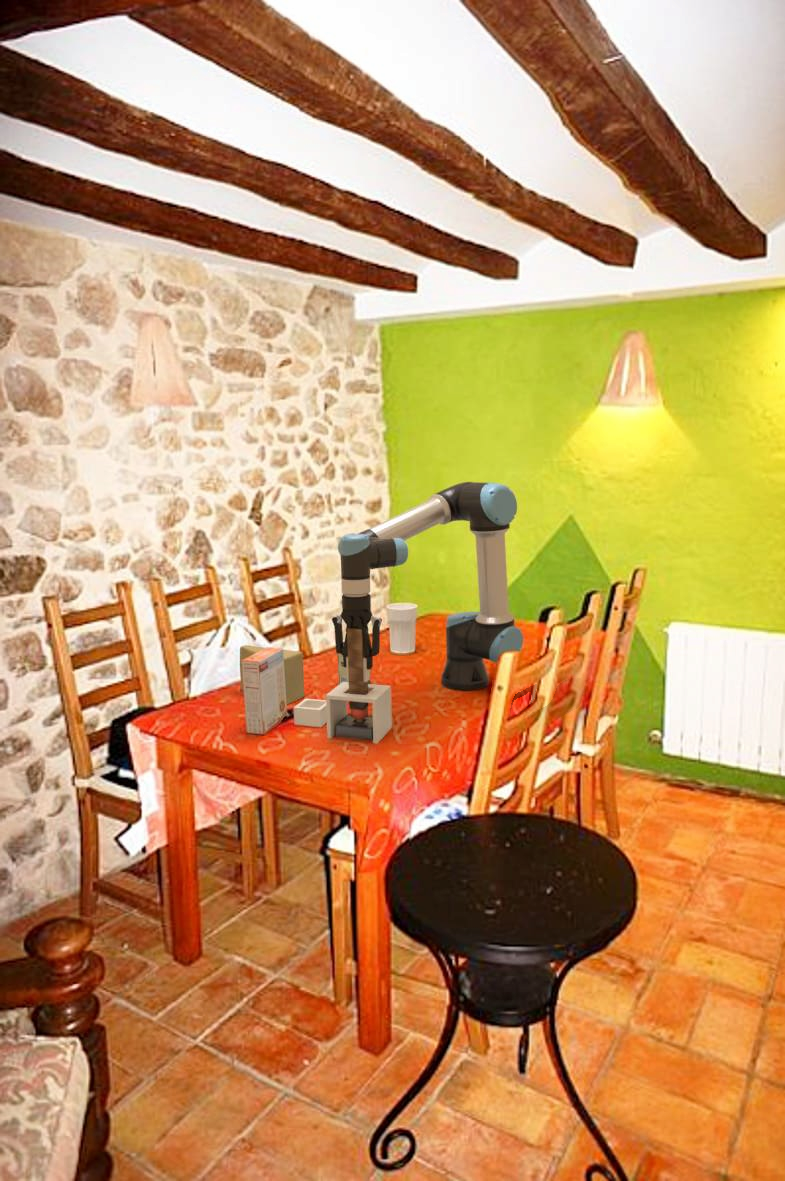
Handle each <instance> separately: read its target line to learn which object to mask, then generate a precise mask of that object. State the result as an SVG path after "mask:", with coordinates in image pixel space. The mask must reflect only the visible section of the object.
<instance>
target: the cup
mask: <svg viewBox="0 0 785 1181" xmlns="http://www.w3.org/2000/svg"><path fill="white" fill-rule="evenodd" d="M386 617H387V618H386V619H387V620H388V625H389V626H388V627H389V631H388V632H389V647H390V650H389V651H390V653H391V654H392V655H395V656H409V655H412V654H414V653H415V652H416V626H417V625H416V621H417V619H418V605H417V604H415V603H411V602H410V603H409V602H397V603H395V602H394V603H390V604H388V605H386Z"/></svg>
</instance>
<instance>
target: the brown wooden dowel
mask: <svg viewBox="0 0 785 1181" xmlns="http://www.w3.org/2000/svg"><path fill="white" fill-rule="evenodd" d="M365 628H366V627H365ZM365 628H364V629H365ZM347 643H348V678H349V692H348V694H359V695H367V694H368V693H369V691H368V681H367V682H364V677H363V658H364V657H365V656H366V655H365V651H364V646H363V633H362V629H359V628H347ZM348 702H349V703H348V704H349V705H348V706H349V707H348V708H349V710H351V709H357V710H364V709H365V708H366V707H367V706H368V707H369V704H370V703H367V702H356V701H348Z"/></svg>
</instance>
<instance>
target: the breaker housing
mask: <svg viewBox="0 0 785 1181" xmlns="http://www.w3.org/2000/svg"><path fill="white" fill-rule="evenodd" d="M363 722H364V723H358V722H356V719H355V718H352V717H351V712H350V713H347V715H346V716H345V717H344V718H343V719H342V720H341V721H340V722H338V723H337V724H336V734H335V735H336V738H341V739H343V738H344V739H351V740H361V741H370V742H373V715H369V714H368V717H366V718H363Z"/></svg>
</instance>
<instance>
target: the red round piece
mask: <svg viewBox="0 0 785 1181" xmlns="http://www.w3.org/2000/svg"><path fill="white" fill-rule="evenodd" d="M350 714H351V717H352V718H355V719H356V722H358V723H364V722H363V718H366V717H368V715H369V705H368V706H367V707H366V708H365V709H364V710H357V709H350Z"/></svg>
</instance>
